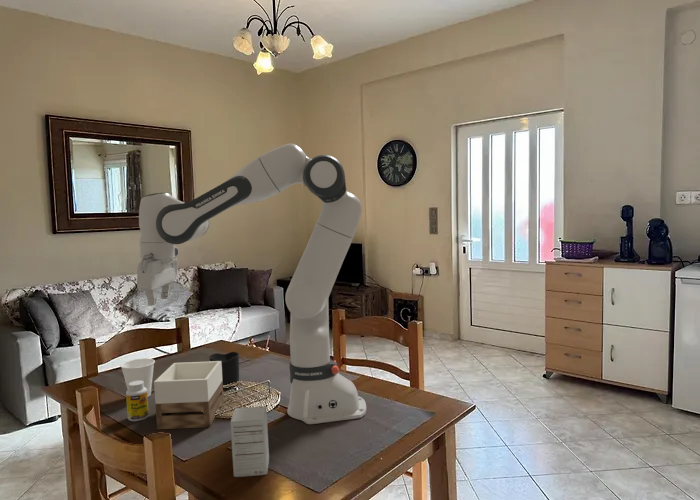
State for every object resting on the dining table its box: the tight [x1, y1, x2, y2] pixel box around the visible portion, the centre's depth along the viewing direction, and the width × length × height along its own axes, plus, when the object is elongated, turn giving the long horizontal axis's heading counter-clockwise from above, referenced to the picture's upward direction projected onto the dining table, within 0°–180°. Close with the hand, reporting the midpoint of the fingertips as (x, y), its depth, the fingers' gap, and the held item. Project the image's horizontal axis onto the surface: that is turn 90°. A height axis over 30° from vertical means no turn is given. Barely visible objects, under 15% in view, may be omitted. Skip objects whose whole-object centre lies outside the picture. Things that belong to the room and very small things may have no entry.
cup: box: [120, 357, 156, 398], centre depth 154 cm, size 10×10×11 cm
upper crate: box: [153, 360, 223, 405], centre depth 138 cm, size 14×16×6 cm
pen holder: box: [208, 351, 240, 385], centre depth 162 cm, size 9×9×10 cm
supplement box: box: [230, 405, 270, 478], centre depth 109 cm, size 7×7×13 cm
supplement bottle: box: [125, 381, 150, 422], centre depth 138 cm, size 6×6×10 cm
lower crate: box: [155, 381, 225, 430], centre depth 138 cm, size 14×16×7 cm
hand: (158, 301), depth 136 cm, fingers open, 8 cm apart
